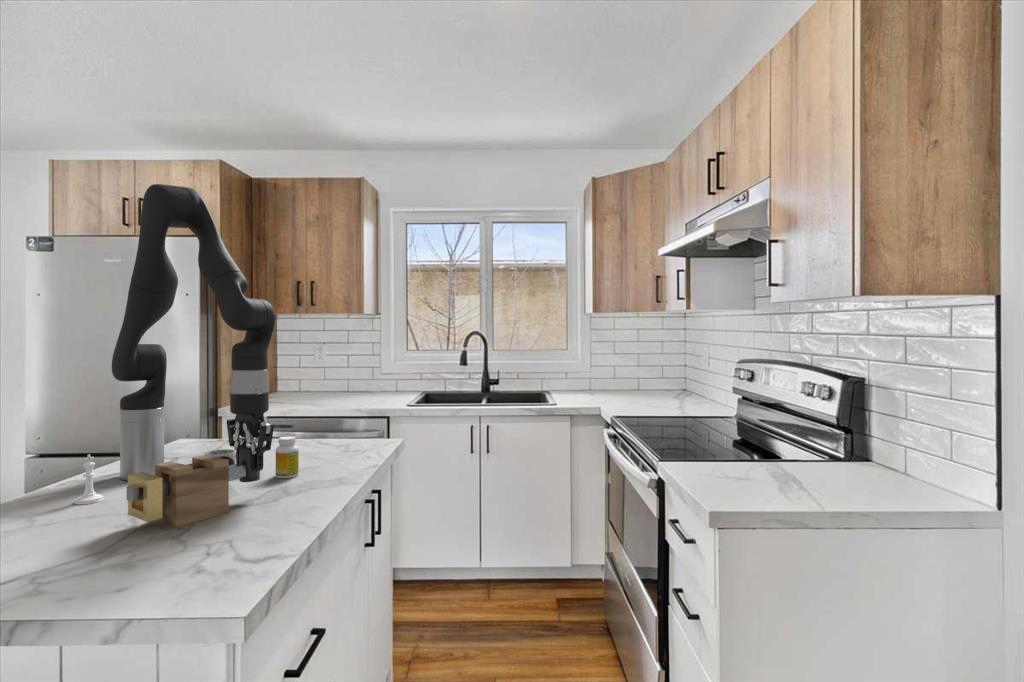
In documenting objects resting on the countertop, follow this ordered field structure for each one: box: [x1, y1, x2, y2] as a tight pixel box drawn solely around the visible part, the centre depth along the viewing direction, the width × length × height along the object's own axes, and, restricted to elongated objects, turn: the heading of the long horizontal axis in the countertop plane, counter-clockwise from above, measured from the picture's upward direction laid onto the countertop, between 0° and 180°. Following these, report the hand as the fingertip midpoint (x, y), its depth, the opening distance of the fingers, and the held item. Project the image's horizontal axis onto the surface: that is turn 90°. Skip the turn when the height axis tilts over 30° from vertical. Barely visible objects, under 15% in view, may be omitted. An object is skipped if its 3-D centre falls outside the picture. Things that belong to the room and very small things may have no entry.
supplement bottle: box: [275, 436, 300, 479], centre depth 138 cm, size 5×5×10 cm
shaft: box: [126, 445, 261, 502], centre depth 108 cm, size 4×25×7 cm, turn 148°
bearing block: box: [155, 454, 230, 528], centre depth 107 cm, size 8×10×11 cm
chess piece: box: [74, 453, 105, 506], centre depth 116 cm, size 5×5×10 cm
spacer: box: [127, 472, 162, 523], centre depth 100 cm, size 7×2×7 cm, turn 58°
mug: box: [204, 448, 236, 481], centre depth 136 cm, size 10×7×7 cm
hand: (249, 468), depth 117 cm, fingers open, 5 cm apart
